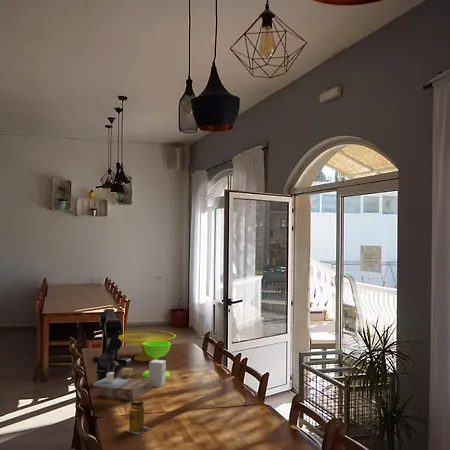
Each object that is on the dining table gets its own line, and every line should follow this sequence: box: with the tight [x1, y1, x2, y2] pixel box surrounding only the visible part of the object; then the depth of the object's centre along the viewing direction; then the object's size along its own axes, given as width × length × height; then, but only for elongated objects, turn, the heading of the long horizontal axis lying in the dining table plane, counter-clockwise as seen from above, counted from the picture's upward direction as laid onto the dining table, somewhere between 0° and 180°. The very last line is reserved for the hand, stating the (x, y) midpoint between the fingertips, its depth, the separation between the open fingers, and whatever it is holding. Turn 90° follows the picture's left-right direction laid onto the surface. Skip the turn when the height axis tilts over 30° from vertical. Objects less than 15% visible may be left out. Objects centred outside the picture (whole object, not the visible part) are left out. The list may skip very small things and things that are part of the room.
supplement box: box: [148, 359, 167, 388], centre depth 300 cm, size 7×7×13 cm
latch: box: [121, 367, 134, 377], centre depth 294 cm, size 4×4×3 cm
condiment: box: [125, 399, 152, 435], centre depth 230 cm, size 7×8×12 cm
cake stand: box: [119, 329, 177, 362], centre depth 361 cm, size 40×40×15 cm
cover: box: [93, 371, 129, 389], centre depth 266 cm, size 12×12×5 cm
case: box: [100, 375, 151, 401], centre depth 282 cm, size 18×18×6 cm
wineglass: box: [141, 341, 172, 379], centre depth 321 cm, size 16×16×18 cm
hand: (111, 378), depth 266 cm, fingers closed on cover, 3 cm apart
